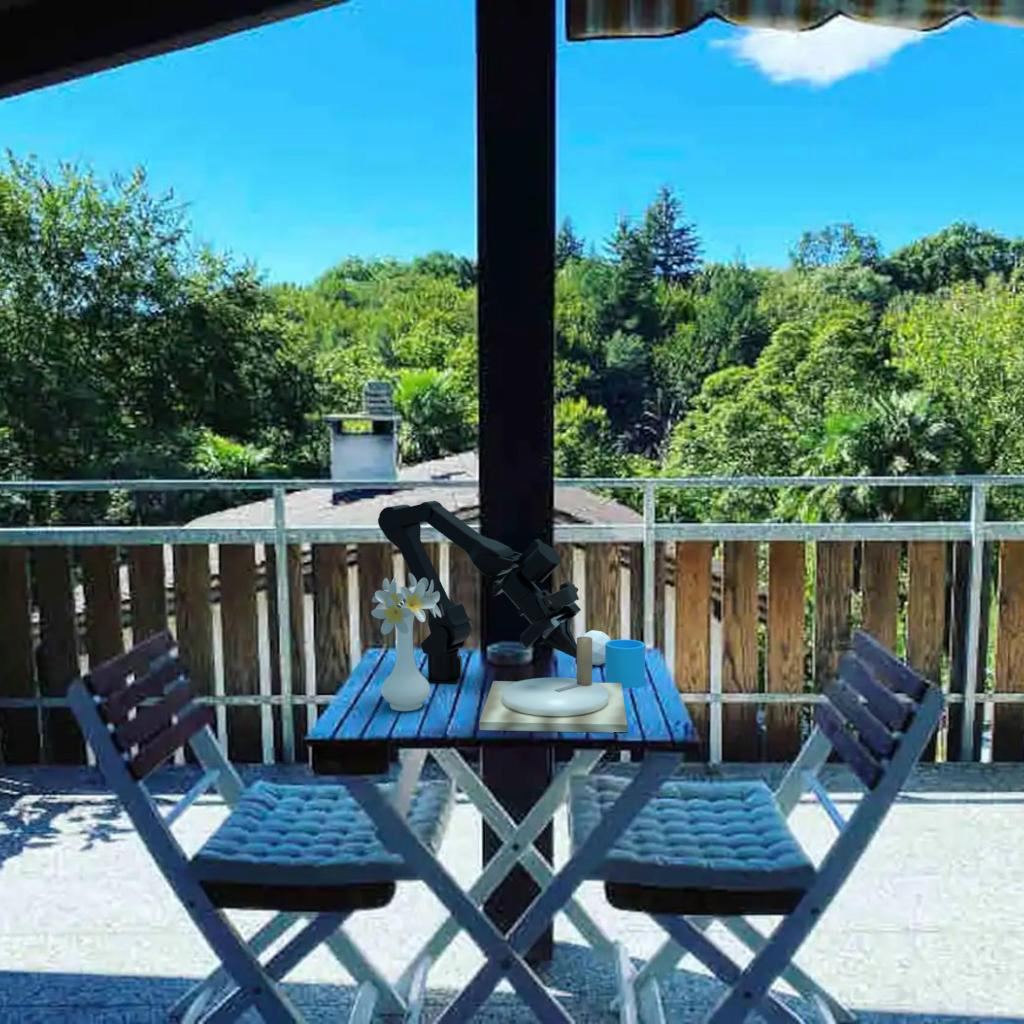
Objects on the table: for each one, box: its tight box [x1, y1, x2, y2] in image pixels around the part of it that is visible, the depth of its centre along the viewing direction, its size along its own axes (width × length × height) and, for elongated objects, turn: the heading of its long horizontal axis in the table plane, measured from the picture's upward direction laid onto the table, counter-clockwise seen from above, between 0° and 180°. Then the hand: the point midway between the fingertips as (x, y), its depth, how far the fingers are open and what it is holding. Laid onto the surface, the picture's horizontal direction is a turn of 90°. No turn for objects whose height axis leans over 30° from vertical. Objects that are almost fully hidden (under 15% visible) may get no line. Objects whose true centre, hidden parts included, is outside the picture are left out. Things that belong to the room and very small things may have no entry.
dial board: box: [478, 680, 628, 734], centre depth 184 cm, size 26×26×2 cm
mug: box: [604, 638, 646, 689], centre depth 203 cm, size 12×8×8 cm
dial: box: [502, 636, 608, 716], centre depth 183 cm, size 20×20×10 cm
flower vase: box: [370, 572, 441, 712], centre depth 183 cm, size 13×18×25 cm
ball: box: [581, 629, 611, 667], centre depth 215 cm, size 8×8×8 cm
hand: (579, 656), depth 190 cm, fingers closed, pressing on dial
